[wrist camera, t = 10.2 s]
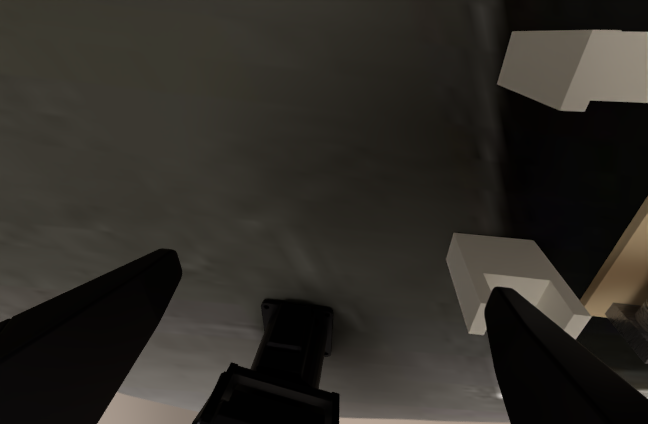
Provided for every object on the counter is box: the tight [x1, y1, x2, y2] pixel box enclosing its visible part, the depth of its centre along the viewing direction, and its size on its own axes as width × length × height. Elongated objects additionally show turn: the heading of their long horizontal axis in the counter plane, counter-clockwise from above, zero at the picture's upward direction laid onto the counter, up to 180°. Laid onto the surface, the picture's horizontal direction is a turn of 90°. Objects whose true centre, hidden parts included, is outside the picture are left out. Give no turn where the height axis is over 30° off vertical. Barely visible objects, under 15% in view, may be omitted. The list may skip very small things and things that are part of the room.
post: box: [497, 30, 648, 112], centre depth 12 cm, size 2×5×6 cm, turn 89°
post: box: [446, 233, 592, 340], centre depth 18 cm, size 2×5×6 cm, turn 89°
